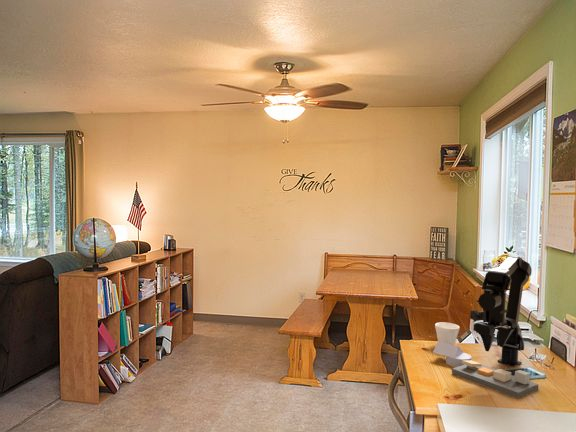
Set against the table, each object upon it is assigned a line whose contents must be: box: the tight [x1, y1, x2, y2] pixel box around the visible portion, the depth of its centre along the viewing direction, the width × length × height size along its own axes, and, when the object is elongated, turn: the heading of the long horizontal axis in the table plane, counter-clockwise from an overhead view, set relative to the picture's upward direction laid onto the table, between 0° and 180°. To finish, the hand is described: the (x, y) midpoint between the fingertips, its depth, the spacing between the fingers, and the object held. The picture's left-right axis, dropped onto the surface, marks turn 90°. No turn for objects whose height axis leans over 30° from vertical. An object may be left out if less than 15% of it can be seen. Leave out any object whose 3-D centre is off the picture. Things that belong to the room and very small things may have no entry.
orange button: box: [477, 367, 494, 377], centre depth 162 cm, size 4×4×2 cm
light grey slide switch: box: [514, 369, 531, 384], centre depth 154 cm, size 3×4×3 cm
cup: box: [434, 321, 460, 346], centre depth 196 cm, size 10×10×9 cm
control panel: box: [451, 364, 539, 400], centre depth 159 cm, size 13×24×3 cm, turn 36°
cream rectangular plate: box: [462, 359, 482, 367], centre depth 166 cm, size 6×4×1 cm, turn 126°
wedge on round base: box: [432, 341, 472, 368], centre depth 177 cm, size 9×7×13 cm
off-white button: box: [493, 368, 512, 382], centre depth 157 cm, size 4×4×2 cm
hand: (494, 349), depth 164 cm, fingers open, 9 cm apart
